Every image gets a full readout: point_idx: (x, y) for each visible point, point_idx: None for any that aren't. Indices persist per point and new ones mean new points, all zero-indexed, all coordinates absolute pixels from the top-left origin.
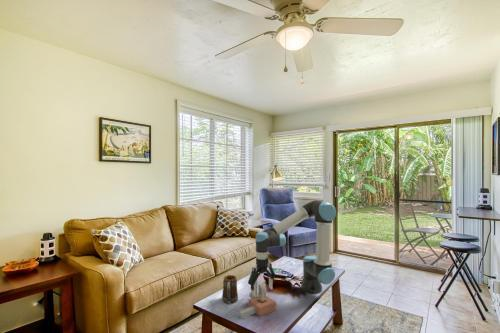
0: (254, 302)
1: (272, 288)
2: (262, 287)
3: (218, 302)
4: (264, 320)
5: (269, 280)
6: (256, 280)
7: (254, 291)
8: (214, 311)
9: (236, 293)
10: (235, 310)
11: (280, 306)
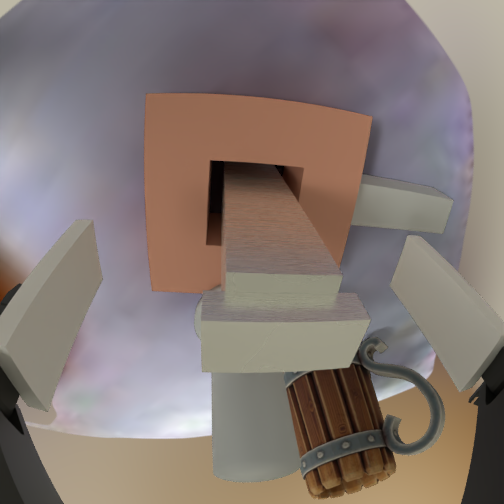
0: (335, 229)
1: (72, 225)
2: (319, 277)
3: None
4: (354, 53)
5: (53, 359)
6: (254, 445)
7: (453, 269)
8: None
9: (321, 387)
10: (389, 280)
11: (93, 115)
